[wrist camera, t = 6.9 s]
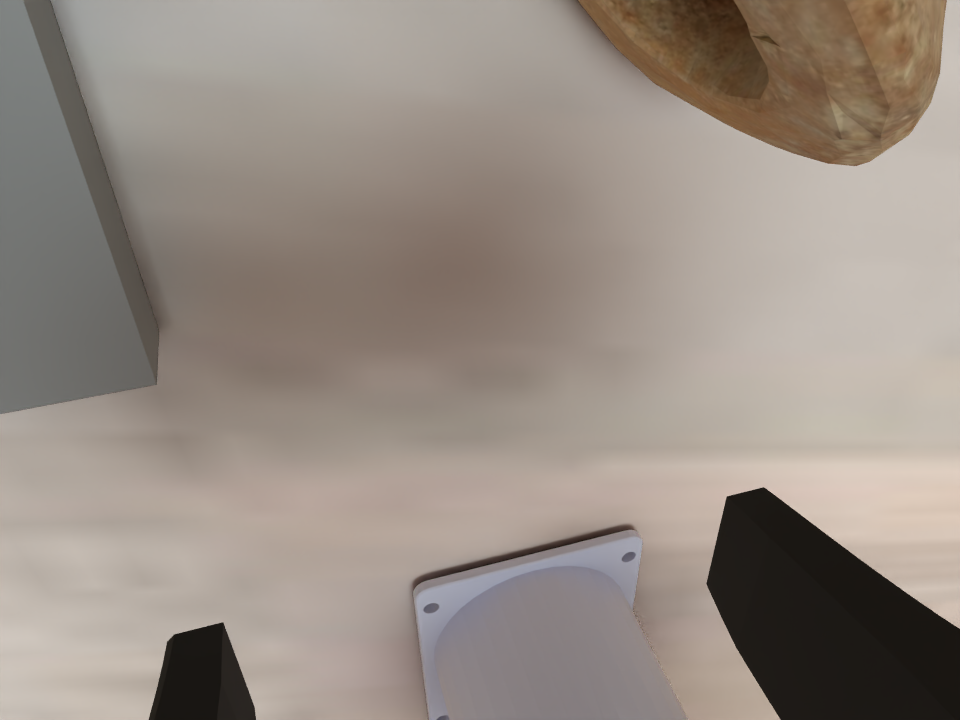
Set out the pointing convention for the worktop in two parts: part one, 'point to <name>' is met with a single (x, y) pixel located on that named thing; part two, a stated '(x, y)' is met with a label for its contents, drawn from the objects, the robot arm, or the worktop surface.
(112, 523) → the worktop surface
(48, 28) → the slate base
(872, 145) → the pipe
